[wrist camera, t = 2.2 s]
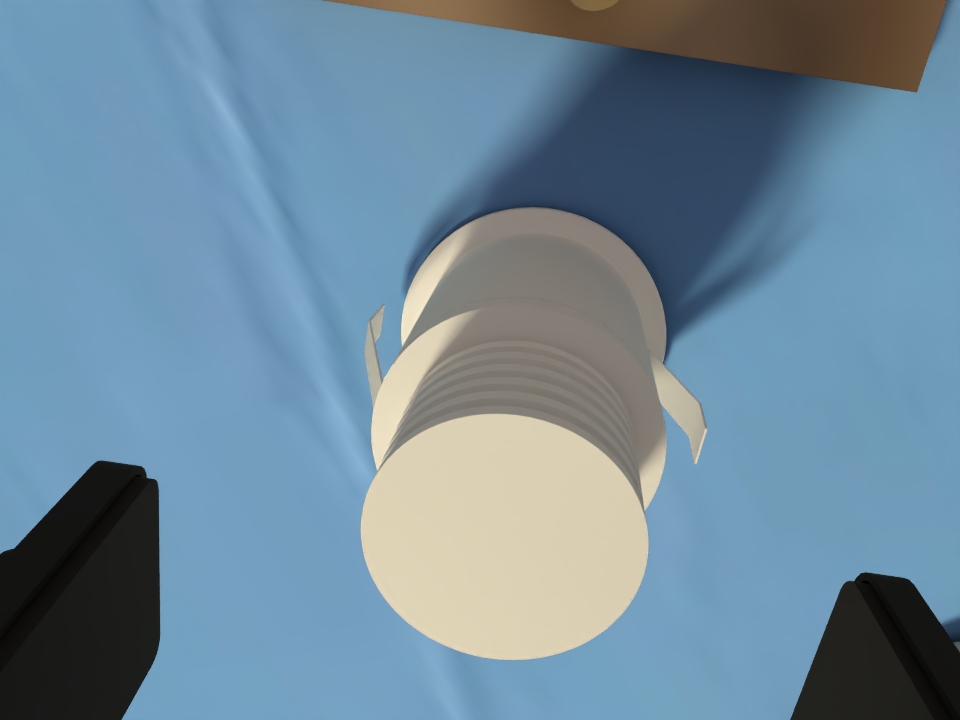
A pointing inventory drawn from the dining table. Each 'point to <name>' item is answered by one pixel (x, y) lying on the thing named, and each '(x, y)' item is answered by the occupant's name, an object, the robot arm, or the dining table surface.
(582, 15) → the pin board
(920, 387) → the dining table surface
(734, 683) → the dining table surface
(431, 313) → the downlight
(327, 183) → the dining table surface
